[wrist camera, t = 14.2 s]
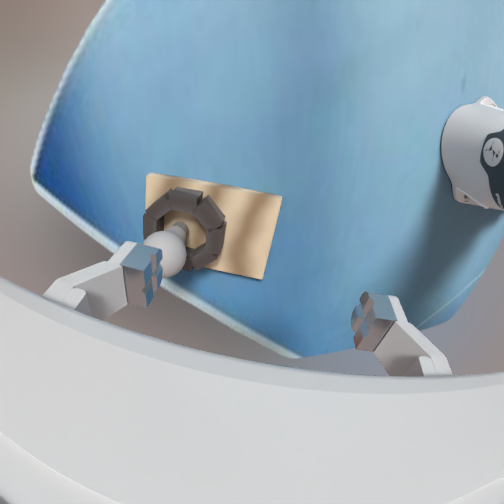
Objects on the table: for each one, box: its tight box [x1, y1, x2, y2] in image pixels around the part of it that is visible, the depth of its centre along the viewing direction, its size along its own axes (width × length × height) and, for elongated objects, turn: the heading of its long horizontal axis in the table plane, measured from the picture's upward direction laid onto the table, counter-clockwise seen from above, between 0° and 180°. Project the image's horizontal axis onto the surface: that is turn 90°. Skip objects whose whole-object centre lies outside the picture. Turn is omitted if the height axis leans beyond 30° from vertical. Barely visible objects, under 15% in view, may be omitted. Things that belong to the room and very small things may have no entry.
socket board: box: [143, 173, 282, 279], centre depth 41 cm, size 20×14×4 cm
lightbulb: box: [143, 222, 188, 278], centre depth 37 cm, size 6×6×11 cm
